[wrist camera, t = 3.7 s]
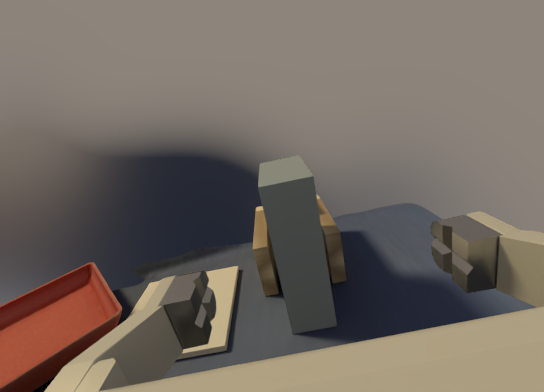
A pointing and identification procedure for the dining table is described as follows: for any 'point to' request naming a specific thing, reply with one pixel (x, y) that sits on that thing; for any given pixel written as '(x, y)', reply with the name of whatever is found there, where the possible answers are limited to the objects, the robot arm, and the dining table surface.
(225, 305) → the felt mat
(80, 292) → the plant saucer
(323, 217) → the rack
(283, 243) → the grey rectangular block
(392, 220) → the dining table surface
